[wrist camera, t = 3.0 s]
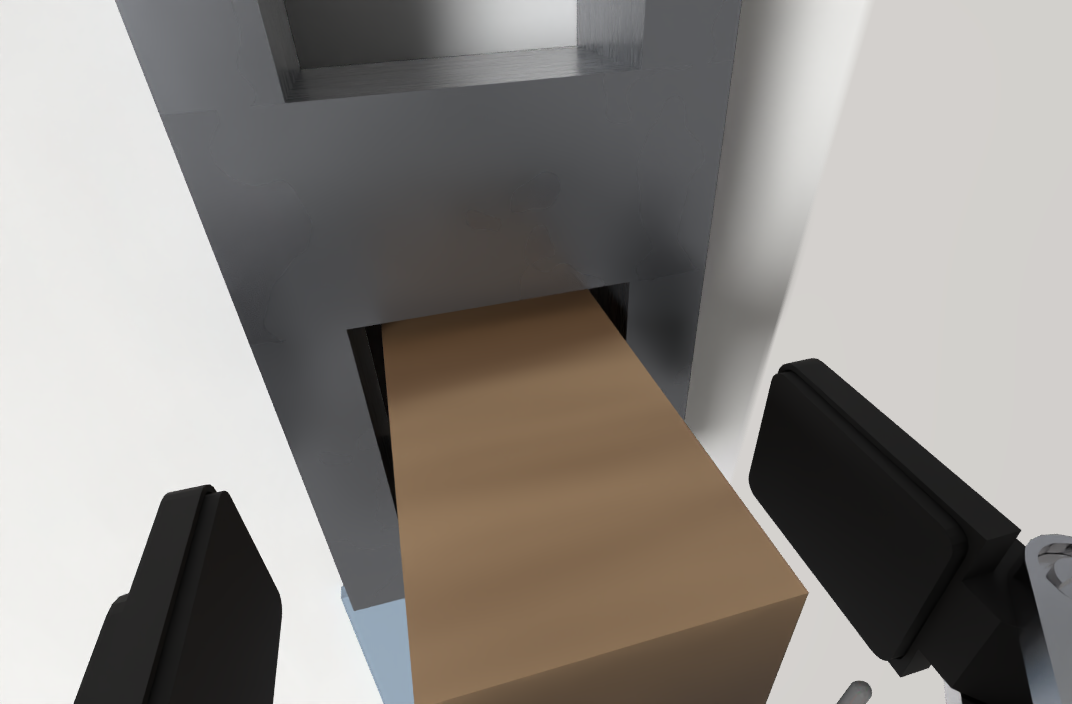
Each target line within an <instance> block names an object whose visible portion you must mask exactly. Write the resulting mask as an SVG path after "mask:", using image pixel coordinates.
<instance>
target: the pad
mask: <svg viewBox="0 0 1072 704" xmlns="http://www.w3.org/2000/svg"><path fill="white" fill-rule="evenodd" d="M341 599H342V602H343V604H344V607H345V609H346V612H347V614H348V616H349V619H350V621H351V624H352V626H353V629H354V631H355V634H356V636H357V639H358V641H359V644H360V646H361V649H362V651H363V654H364V656H365V659H366V661H367V664H368V666H369V668H370V671H371V673H372V676H373V678H374V681H375V683H376V686H377V688H378V691H379V693H380V696H381V698H382V701H383V703H384V704H414V695H413V684H412V673H411V661H410V650H409V638H408V627H407V616H406V604H405V598H403V599H399V600H396V601H392V602H388V603H384V604H380V605H376V606H372V607H369V608H365V609H361V610H357V611H354V610H353V608H352V605H351V603H350V600H349V597H348V595H347V592H346V590H345V587H344V586H343V587H341Z"/></svg>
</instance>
